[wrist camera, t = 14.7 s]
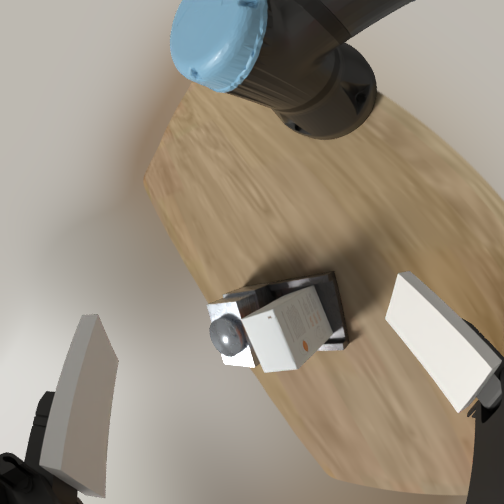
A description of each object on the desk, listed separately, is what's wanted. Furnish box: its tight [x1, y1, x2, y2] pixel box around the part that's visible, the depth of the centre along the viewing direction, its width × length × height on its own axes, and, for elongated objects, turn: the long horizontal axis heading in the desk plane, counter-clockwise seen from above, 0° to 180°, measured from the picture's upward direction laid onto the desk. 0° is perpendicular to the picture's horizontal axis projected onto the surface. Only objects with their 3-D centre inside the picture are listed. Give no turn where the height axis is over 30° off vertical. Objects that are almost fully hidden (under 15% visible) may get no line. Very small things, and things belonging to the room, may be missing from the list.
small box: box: [241, 285, 333, 373], centre depth 37 cm, size 8×6×10 cm
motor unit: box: [207, 271, 349, 367], centre depth 40 cm, size 11×18×10 cm, turn 111°
